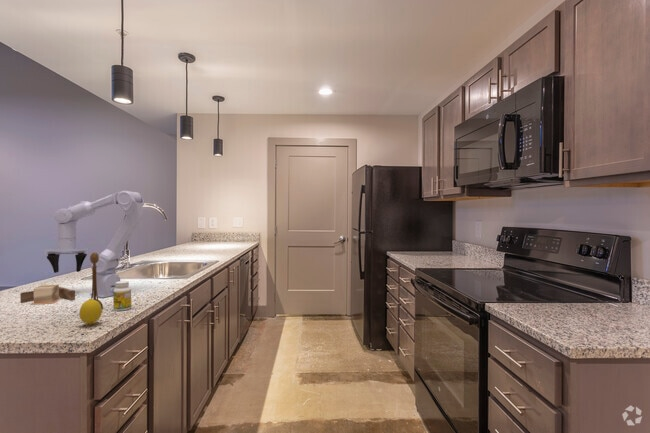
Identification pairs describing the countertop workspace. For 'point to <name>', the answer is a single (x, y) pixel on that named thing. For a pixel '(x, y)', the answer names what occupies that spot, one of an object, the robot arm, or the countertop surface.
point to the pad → (46, 303)
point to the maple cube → (46, 293)
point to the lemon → (90, 311)
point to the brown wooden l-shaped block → (63, 293)
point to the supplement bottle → (122, 296)
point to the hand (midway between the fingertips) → (67, 271)
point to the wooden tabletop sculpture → (94, 277)
